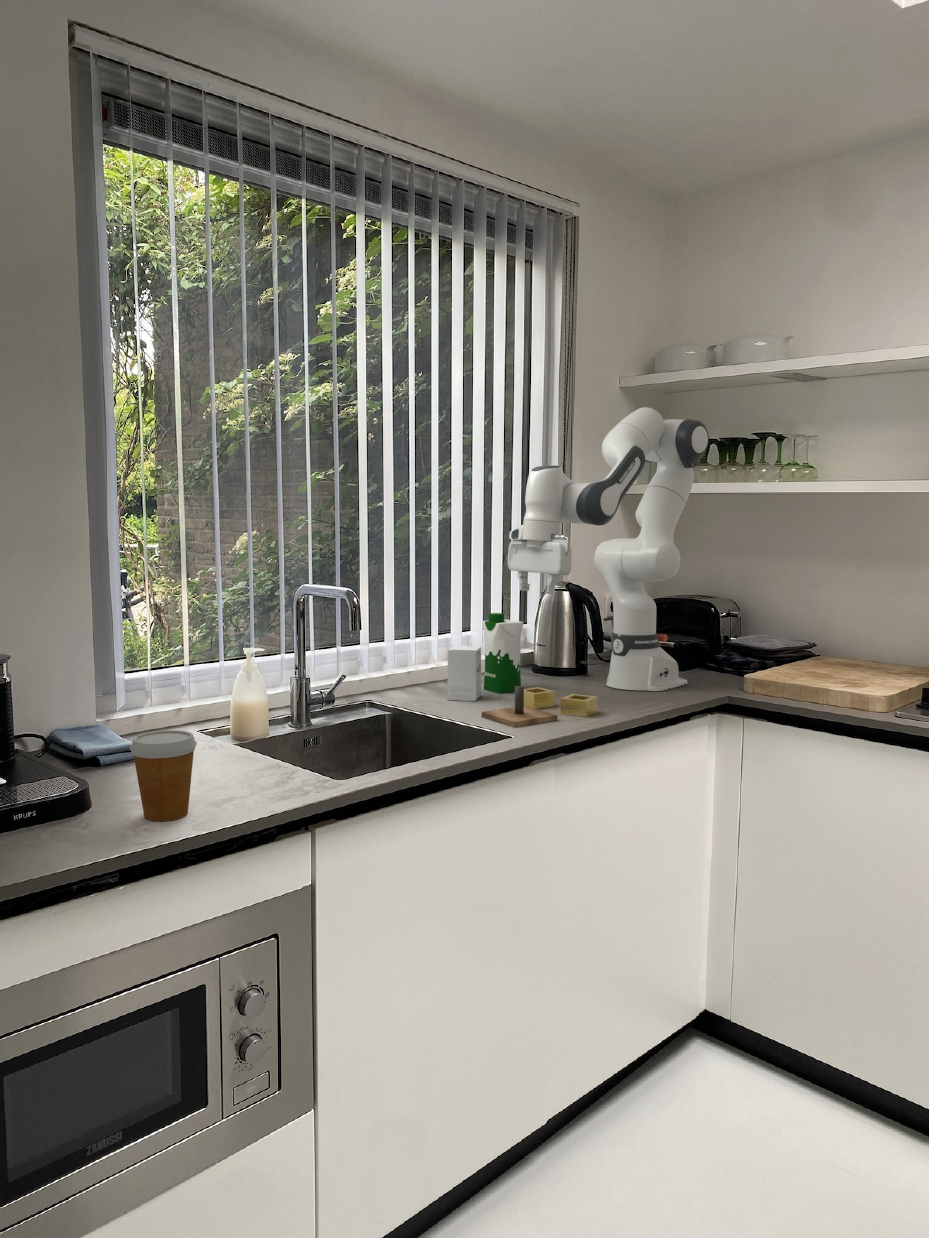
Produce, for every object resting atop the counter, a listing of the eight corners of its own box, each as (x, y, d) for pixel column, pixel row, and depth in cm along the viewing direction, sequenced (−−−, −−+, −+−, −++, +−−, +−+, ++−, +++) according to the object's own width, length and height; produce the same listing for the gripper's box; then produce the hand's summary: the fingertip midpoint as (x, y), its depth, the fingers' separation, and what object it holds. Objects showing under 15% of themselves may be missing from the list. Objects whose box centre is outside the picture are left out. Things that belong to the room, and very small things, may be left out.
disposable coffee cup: (158, 802, 142) (155, 727, 141) (211, 808, 140) (209, 731, 138) (118, 821, 133) (115, 742, 132) (174, 828, 130) (171, 746, 129)
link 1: (538, 701, 220) (538, 687, 220) (555, 706, 215) (555, 691, 214) (517, 704, 216) (517, 689, 216) (533, 709, 211) (534, 694, 211)
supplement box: (476, 701, 220) (476, 650, 219) (446, 700, 222) (446, 649, 220) (481, 695, 227) (482, 645, 226) (453, 694, 229) (453, 645, 227)
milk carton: (478, 689, 236) (478, 612, 234) (506, 685, 241) (506, 610, 239) (498, 694, 229) (499, 616, 226) (526, 690, 234) (527, 613, 231)
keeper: (523, 710, 210) (524, 680, 209) (557, 720, 200) (557, 688, 199) (481, 717, 203) (481, 685, 202) (514, 727, 193) (514, 694, 192)
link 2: (572, 708, 212) (572, 693, 211) (597, 711, 208) (597, 696, 208) (560, 714, 206) (560, 698, 206) (586, 717, 203) (586, 701, 203)
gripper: (580, 536, 207) (575, 596, 208) (525, 534, 224) (521, 589, 225) (559, 534, 203) (554, 595, 204) (505, 532, 220) (500, 588, 221)
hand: (536, 592), depth 215 cm, fingers open, 8 cm apart
